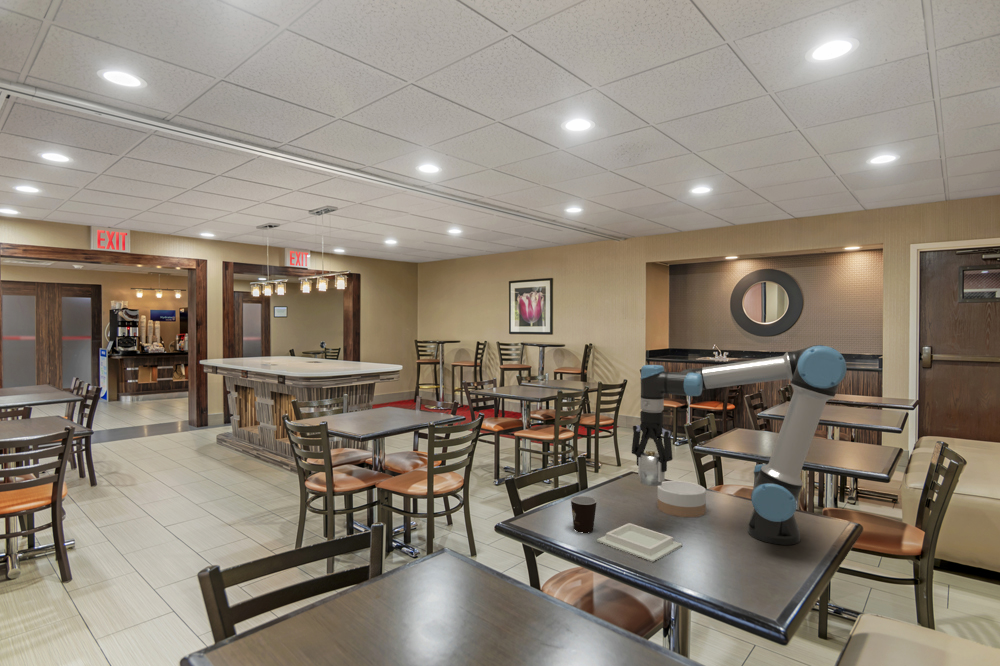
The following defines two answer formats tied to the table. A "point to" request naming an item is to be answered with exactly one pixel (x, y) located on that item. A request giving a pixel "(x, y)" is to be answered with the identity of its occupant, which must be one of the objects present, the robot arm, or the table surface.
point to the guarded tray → (640, 541)
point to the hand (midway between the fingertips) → (651, 478)
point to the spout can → (650, 468)
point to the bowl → (682, 499)
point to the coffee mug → (583, 513)
